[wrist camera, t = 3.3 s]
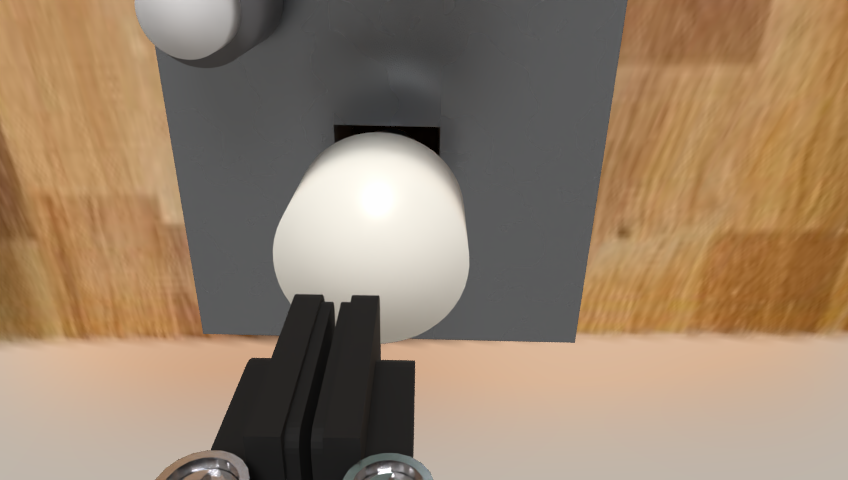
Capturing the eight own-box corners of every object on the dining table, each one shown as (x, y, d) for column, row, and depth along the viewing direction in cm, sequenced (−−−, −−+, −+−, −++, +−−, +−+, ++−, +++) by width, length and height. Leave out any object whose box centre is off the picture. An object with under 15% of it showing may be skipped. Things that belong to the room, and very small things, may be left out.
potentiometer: (278, -62, 18) (239, -58, 14) (287, 48, 19) (252, 77, 15) (172, -64, 18) (105, -61, 14) (188, 47, 19) (130, 75, 15)
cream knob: (461, 92, 21) (474, 173, 14) (455, 220, 23) (464, 346, 16) (319, 88, 21) (263, 168, 14) (327, 217, 23) (281, 341, 16)
